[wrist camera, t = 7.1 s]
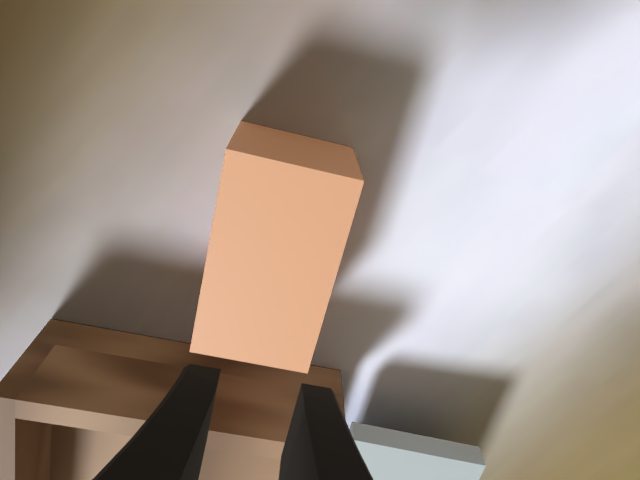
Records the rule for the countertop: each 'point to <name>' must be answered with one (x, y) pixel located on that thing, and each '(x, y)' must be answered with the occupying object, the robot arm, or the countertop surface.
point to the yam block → (275, 246)
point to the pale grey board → (415, 455)
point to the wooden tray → (137, 404)
